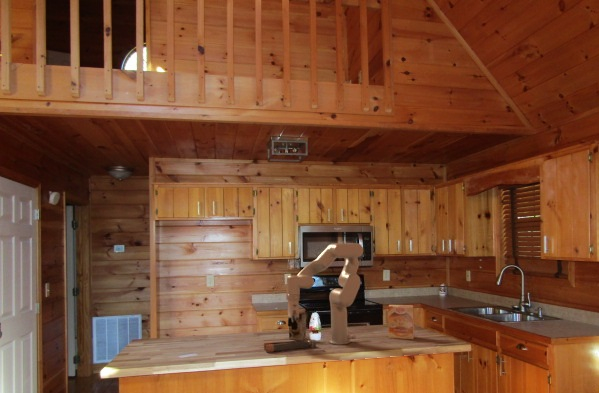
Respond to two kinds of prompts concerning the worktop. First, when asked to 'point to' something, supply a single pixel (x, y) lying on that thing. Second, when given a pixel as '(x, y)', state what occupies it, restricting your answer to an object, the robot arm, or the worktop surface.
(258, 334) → the worktop surface
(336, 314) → the robot arm
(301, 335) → the coffee box
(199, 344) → the worktop surface
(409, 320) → the coffeecake box
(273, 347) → the tongs moving arm
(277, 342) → the arm
